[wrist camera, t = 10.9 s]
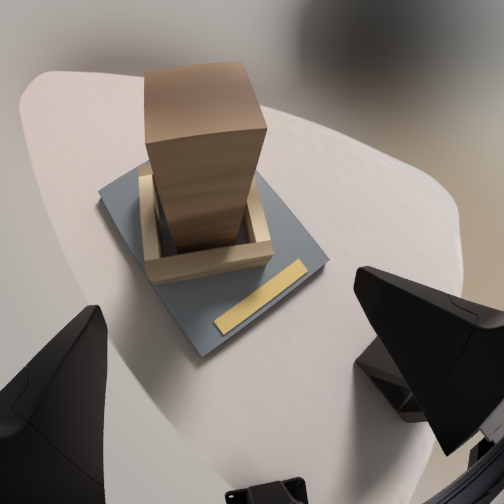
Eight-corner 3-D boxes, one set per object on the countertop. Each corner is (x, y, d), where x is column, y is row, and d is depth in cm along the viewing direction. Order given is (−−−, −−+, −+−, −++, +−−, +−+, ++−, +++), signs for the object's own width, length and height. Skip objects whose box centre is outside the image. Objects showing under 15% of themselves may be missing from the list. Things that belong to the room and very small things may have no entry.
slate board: (325, 263, 24) (330, 259, 23) (202, 356, 20) (201, 357, 19) (215, 132, 26) (216, 124, 25) (101, 196, 23) (97, 190, 22)
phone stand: (353, 359, 22) (461, 360, 10) (395, 312, 24) (499, 282, 12) (404, 422, 20) (503, 444, 9) (439, 375, 22) (536, 373, 11)
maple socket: (265, 265, 22) (274, 254, 19) (154, 285, 20) (146, 275, 18) (243, 171, 24) (247, 150, 21) (145, 185, 23) (138, 165, 20)
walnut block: (234, 244, 22) (267, 128, 10) (177, 254, 21) (145, 143, 9) (223, 193, 23) (242, 61, 11) (170, 202, 22) (144, 72, 10)
